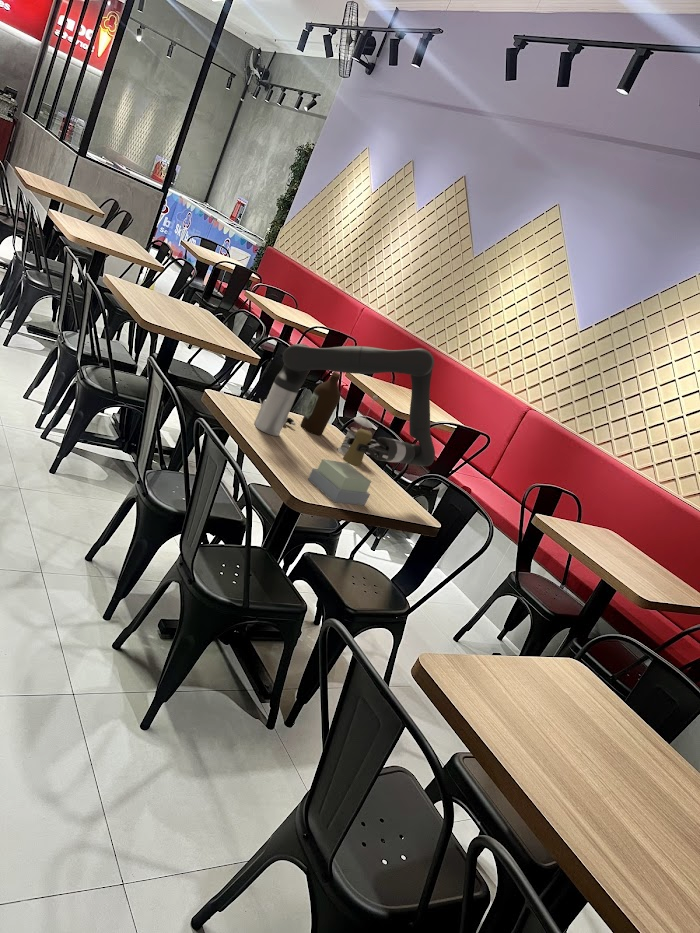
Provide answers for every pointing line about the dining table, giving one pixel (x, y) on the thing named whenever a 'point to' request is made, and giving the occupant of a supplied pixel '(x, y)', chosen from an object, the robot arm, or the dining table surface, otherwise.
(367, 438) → the olive pepper mill
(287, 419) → the robot toy
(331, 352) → the robot arm
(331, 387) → the olive oil
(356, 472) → the green and grey box
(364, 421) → the french press
